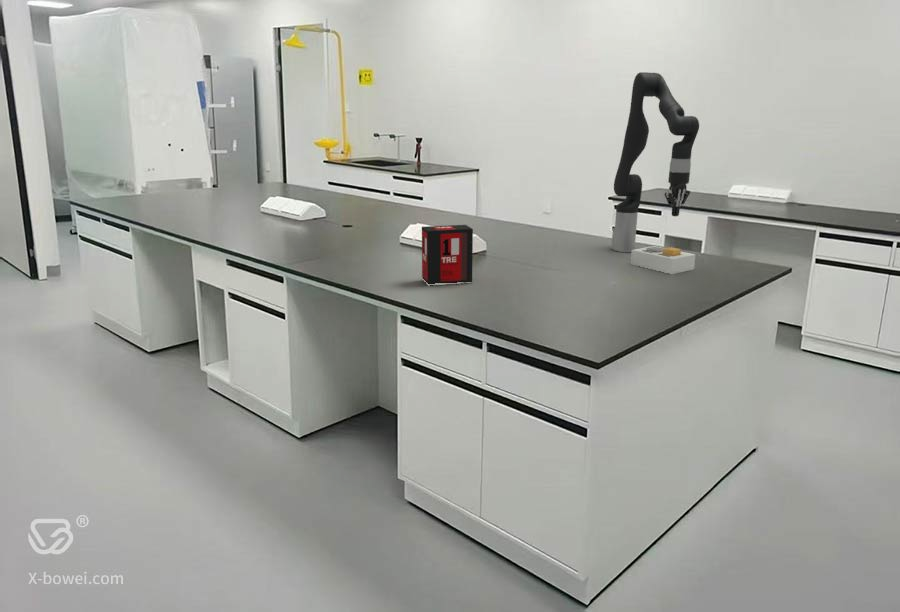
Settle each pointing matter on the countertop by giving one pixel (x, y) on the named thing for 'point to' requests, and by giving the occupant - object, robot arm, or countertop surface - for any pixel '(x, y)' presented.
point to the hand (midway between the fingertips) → (675, 215)
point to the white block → (654, 249)
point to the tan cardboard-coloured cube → (671, 251)
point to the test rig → (662, 261)
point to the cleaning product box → (447, 254)
